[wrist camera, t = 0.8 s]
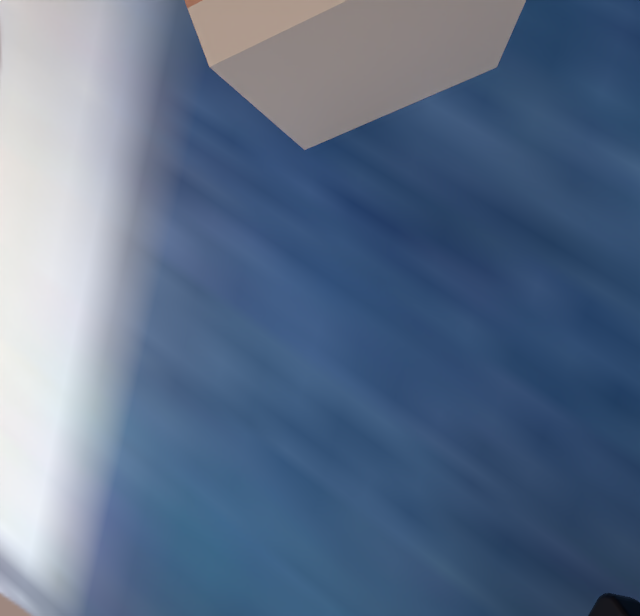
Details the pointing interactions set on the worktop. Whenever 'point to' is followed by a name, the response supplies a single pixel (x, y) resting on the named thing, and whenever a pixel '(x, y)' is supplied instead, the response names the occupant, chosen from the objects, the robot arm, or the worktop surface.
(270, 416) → the worktop surface
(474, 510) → the worktop surface
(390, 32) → the tile
